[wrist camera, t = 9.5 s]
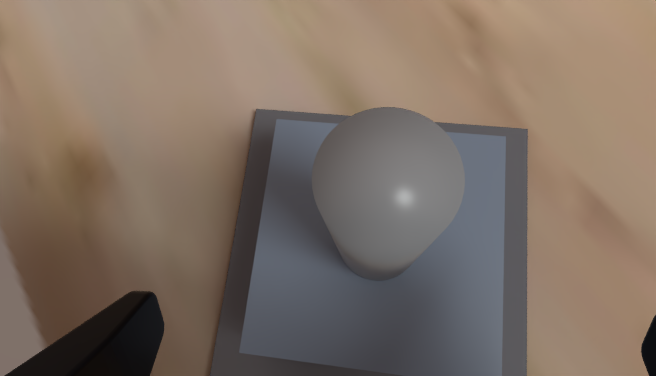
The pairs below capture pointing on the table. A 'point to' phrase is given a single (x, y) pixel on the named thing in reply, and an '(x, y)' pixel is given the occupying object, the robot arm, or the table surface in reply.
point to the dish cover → (381, 247)
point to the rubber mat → (228, 364)
